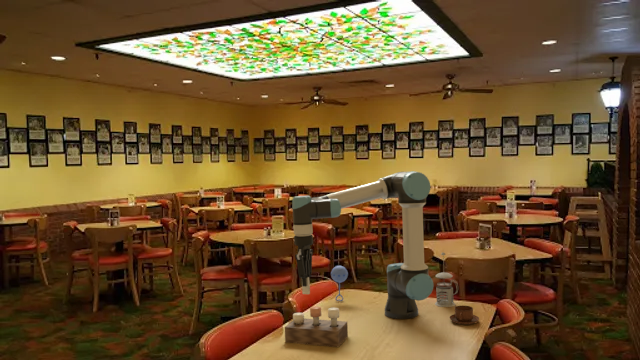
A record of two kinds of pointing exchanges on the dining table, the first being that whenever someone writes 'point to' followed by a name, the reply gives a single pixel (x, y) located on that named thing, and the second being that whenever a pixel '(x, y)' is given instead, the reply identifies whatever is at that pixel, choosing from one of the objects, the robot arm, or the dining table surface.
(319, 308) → the knob middle
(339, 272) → the baby rattle
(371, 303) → the dining table surface
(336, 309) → the knob near
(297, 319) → the knob far
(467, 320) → the cup and saucer
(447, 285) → the french press
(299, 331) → the knob console
